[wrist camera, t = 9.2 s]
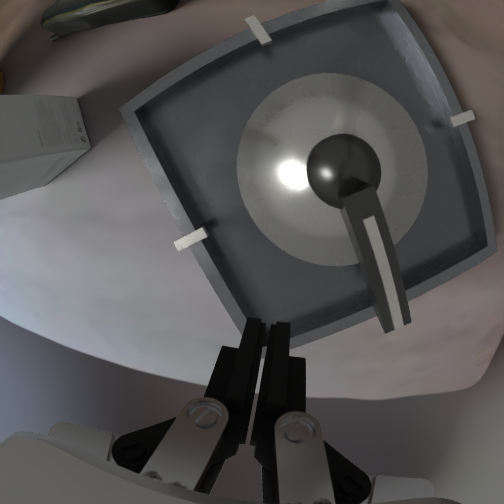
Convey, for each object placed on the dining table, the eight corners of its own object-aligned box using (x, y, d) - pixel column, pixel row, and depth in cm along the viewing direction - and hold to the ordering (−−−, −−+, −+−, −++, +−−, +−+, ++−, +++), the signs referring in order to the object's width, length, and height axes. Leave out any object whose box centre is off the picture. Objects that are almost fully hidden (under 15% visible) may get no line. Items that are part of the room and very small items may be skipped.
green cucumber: (165, -38, 11) (29, 12, 12) (156, -10, 12) (21, 38, 13) (185, -10, 15) (58, 23, 16) (179, 16, 16) (52, 46, 17)
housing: (382, -5, 13) (393, -22, 10) (487, 246, 19) (505, 257, 16) (126, 110, 19) (105, 106, 16) (257, 348, 25) (253, 370, 22)
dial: (212, 125, 17) (183, 114, 12) (372, 60, 14) (399, 31, 9) (304, 318, 21) (306, 365, 16) (442, 259, 18) (479, 290, 13)
